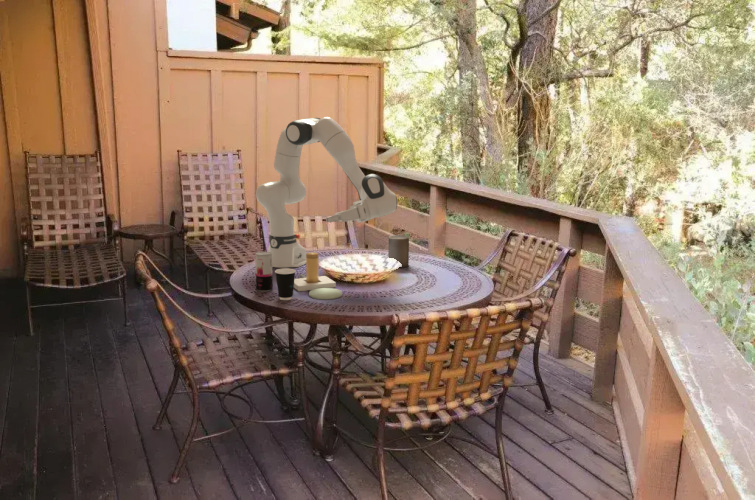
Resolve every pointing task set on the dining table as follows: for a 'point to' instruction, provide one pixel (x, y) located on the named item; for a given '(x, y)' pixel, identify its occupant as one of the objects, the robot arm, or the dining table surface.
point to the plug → (312, 268)
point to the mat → (325, 293)
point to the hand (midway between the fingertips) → (327, 220)
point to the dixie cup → (285, 283)
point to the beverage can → (264, 271)
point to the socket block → (323, 283)
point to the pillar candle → (399, 249)
